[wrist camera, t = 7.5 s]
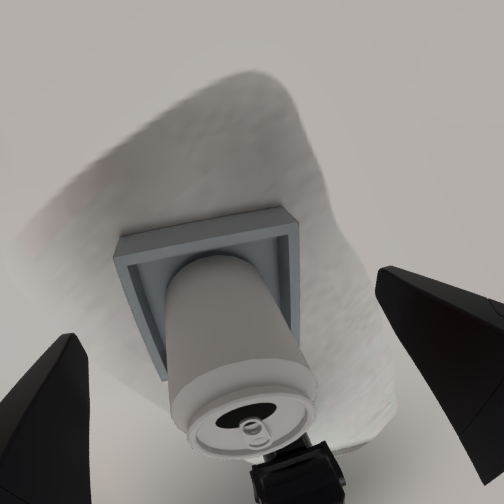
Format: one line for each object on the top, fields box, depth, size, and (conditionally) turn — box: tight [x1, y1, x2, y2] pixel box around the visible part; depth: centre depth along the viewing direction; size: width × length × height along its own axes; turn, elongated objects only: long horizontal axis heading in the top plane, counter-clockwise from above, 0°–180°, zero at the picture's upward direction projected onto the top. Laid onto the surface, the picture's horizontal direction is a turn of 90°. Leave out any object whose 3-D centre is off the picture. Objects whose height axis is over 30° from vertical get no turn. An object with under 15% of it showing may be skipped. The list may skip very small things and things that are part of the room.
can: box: [165, 255, 317, 460], centre depth 18 cm, size 8×8×12 cm
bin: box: [113, 206, 300, 381], centre depth 22 cm, size 11×11×3 cm
